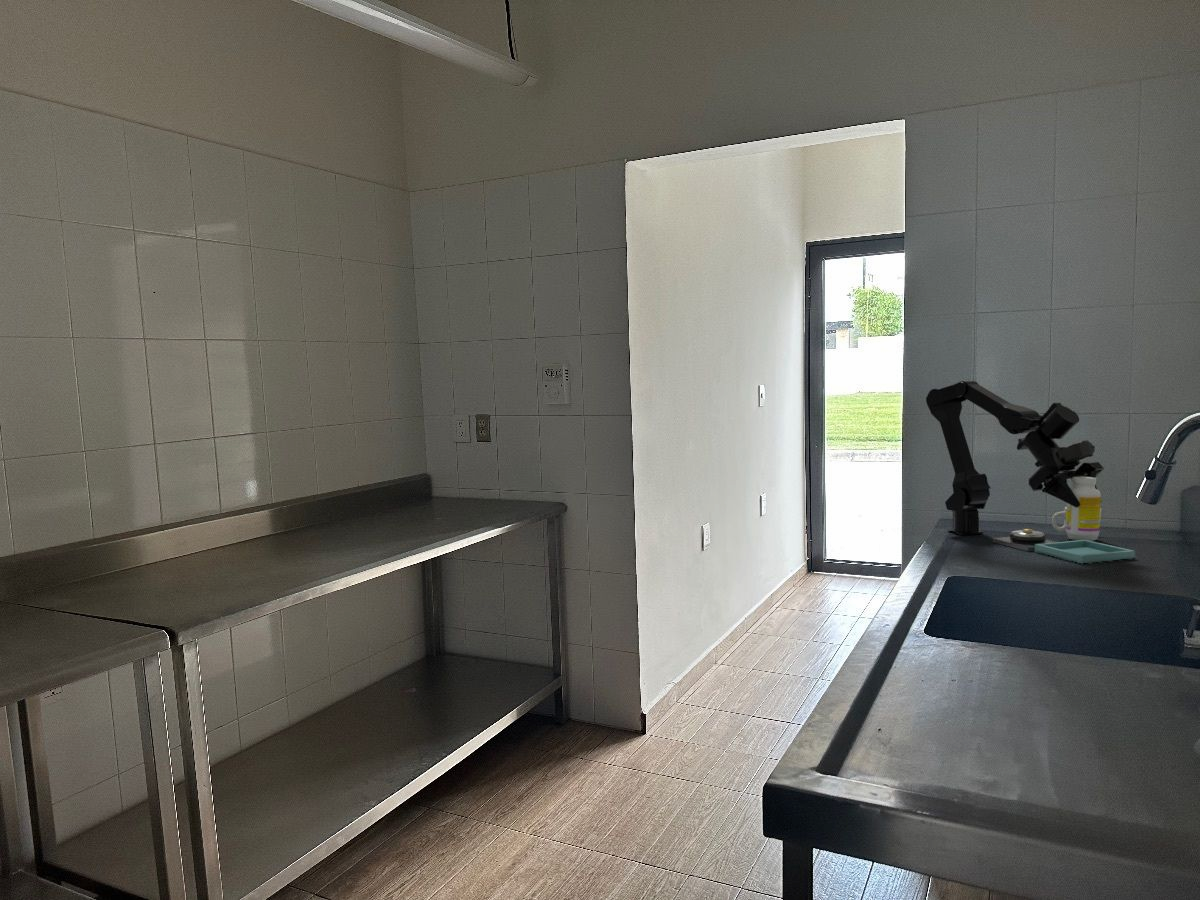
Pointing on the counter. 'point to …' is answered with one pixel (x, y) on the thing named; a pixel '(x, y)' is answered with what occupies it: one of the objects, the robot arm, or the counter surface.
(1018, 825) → the counter surface
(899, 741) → the counter surface
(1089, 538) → the cup
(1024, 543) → the block
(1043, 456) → the robot arm
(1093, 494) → the supplement bottle
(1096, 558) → the tray
